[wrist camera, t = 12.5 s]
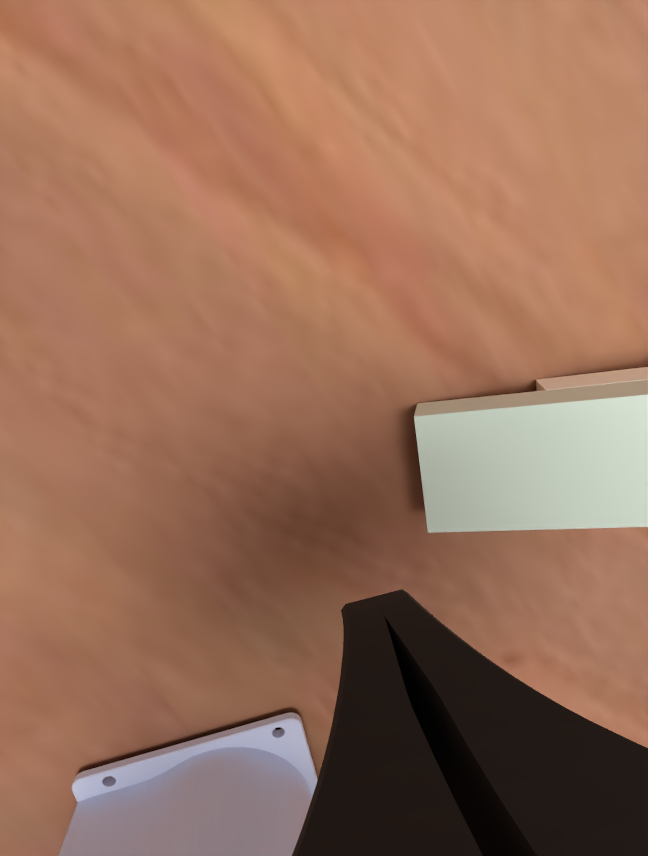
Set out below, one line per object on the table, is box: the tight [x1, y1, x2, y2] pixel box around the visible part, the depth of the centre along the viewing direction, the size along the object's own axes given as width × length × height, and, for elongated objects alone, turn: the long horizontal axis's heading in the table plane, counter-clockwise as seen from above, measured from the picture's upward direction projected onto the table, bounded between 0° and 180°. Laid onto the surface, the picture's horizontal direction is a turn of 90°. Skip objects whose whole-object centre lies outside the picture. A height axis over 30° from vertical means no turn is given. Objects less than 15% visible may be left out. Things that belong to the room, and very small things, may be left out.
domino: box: [414, 380, 648, 533], centre depth 17 cm, size 2×4×8 cm
